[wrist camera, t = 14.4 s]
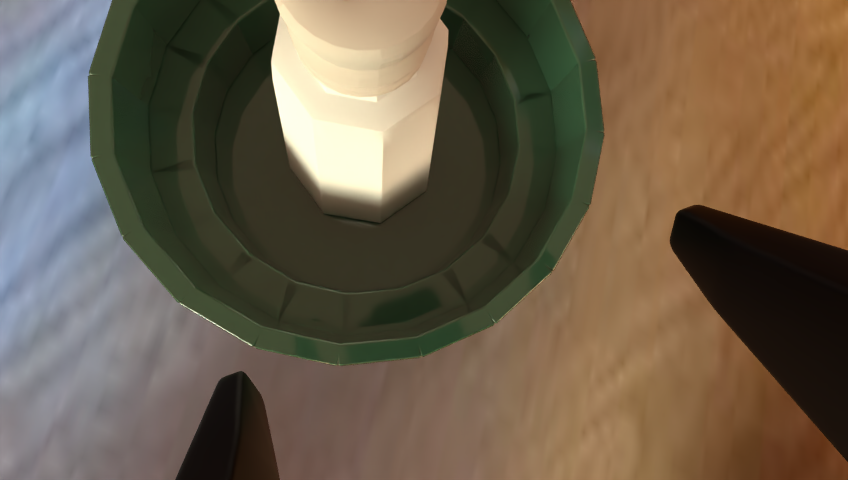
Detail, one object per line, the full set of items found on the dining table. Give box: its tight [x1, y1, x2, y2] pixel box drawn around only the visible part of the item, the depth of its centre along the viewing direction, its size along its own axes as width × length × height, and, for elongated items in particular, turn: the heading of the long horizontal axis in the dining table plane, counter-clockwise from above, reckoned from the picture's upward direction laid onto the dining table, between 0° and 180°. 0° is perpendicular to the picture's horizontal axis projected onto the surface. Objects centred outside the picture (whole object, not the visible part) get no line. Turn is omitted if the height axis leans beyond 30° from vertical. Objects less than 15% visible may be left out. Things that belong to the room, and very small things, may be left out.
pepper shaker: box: [271, 0, 448, 223], centre depth 13 cm, size 5×5×11 cm
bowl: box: [88, 0, 604, 366], centre depth 16 cm, size 14×14×5 cm
